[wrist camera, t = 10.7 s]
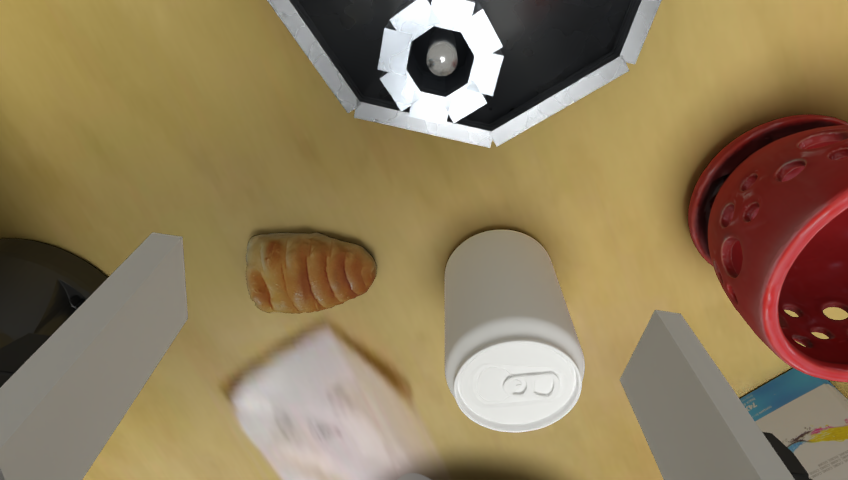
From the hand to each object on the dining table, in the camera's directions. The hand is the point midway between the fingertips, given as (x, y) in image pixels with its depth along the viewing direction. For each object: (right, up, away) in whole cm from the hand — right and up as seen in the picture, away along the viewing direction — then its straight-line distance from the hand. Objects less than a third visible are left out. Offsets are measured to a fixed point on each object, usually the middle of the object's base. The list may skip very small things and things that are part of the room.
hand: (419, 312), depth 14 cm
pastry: (-9, 0, +25) cm, 27 cm away
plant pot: (+24, +6, +21) cm, 32 cm away
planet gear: (+1, +13, +15) cm, 20 cm away
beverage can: (+6, 0, +25) cm, 25 cm away
